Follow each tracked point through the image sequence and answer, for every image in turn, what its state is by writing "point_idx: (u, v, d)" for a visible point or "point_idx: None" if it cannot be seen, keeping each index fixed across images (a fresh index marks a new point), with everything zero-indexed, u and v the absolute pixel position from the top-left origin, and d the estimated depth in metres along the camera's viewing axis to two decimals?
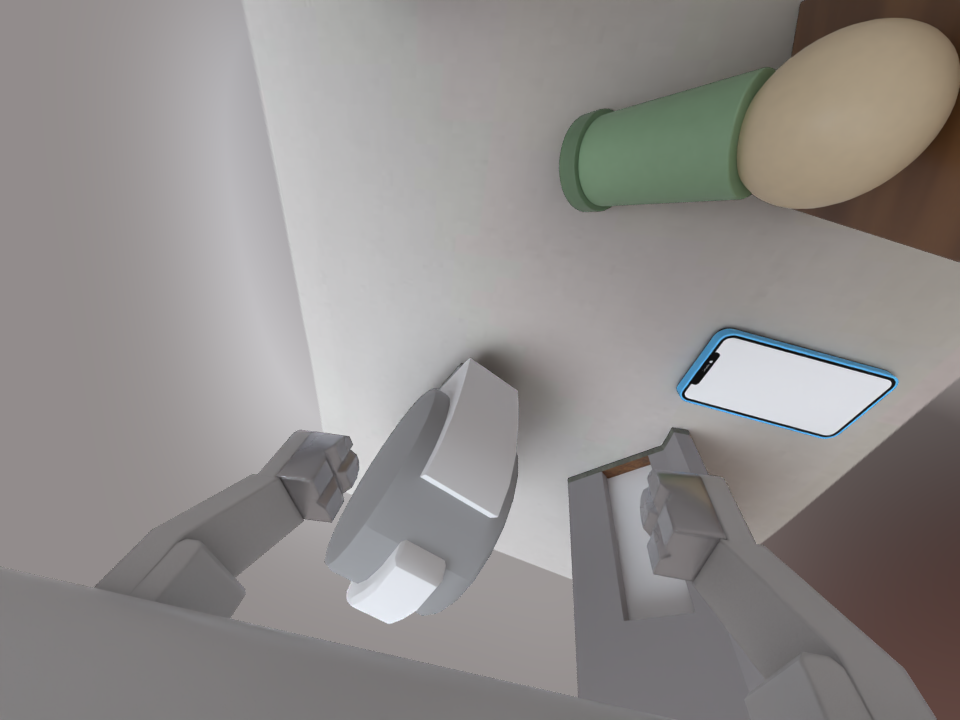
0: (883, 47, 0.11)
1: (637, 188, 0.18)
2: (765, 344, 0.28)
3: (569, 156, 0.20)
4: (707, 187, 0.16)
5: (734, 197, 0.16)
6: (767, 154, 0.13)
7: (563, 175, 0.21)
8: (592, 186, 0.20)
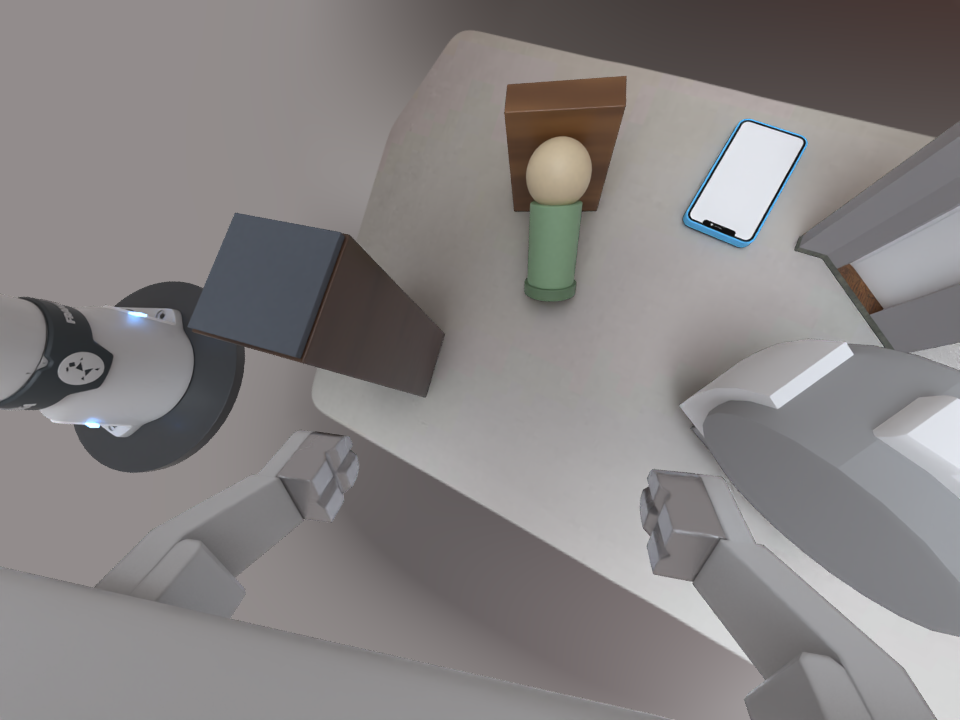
0: (535, 160, 0.30)
1: (565, 253, 0.34)
2: (699, 194, 0.39)
3: (540, 293, 0.36)
4: (571, 216, 0.32)
5: (579, 205, 0.32)
6: (561, 188, 0.30)
7: (549, 298, 0.36)
8: (559, 281, 0.35)
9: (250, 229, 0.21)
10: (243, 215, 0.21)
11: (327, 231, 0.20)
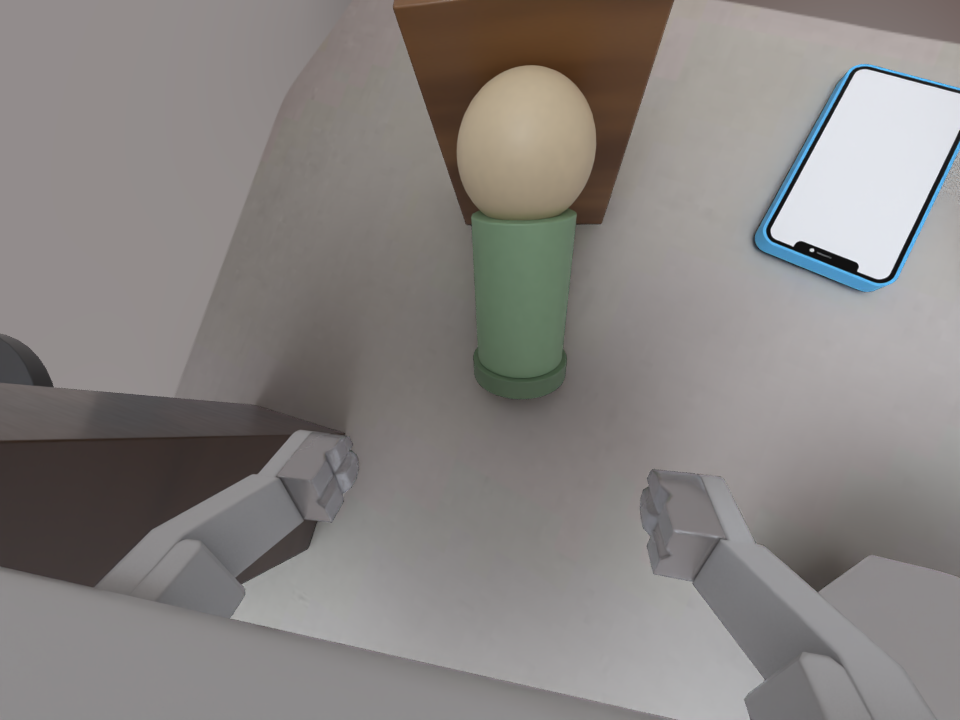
0: (468, 120, 0.13)
1: (543, 316, 0.17)
2: (785, 196, 0.22)
3: (498, 384, 0.19)
4: (553, 244, 0.15)
5: (570, 219, 0.15)
6: (526, 184, 0.13)
7: (515, 394, 0.19)
8: (532, 365, 0.18)
9: None
10: None
11: None
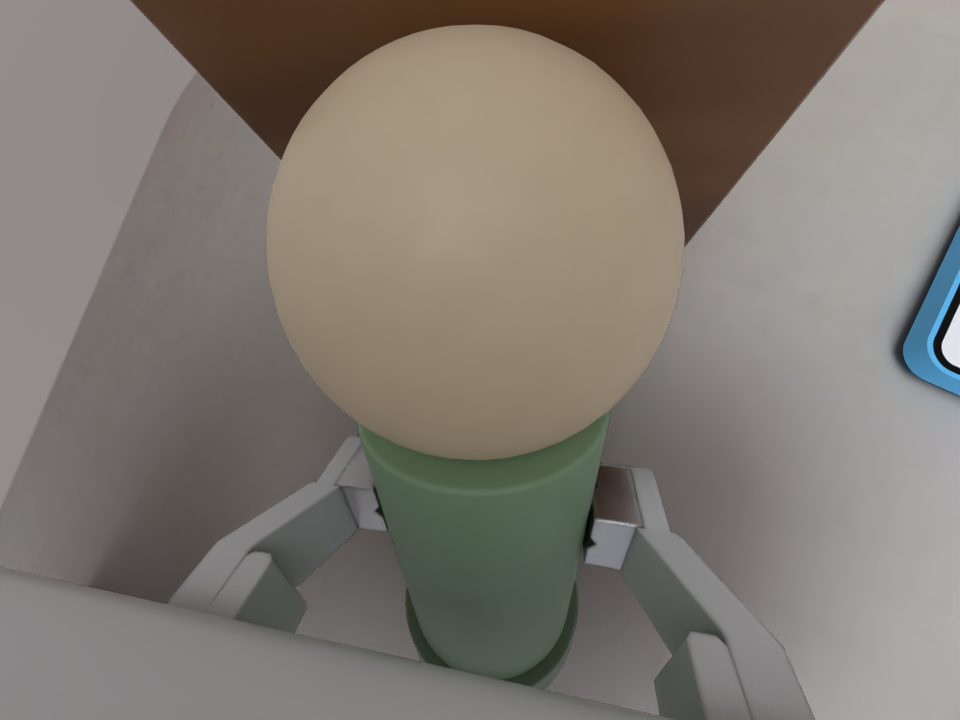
0: None
1: (528, 615, 0.07)
2: None
3: None
4: (552, 514, 0.06)
5: (598, 446, 0.06)
6: (458, 436, 0.04)
7: None
8: (509, 667, 0.09)
9: None
10: None
11: None
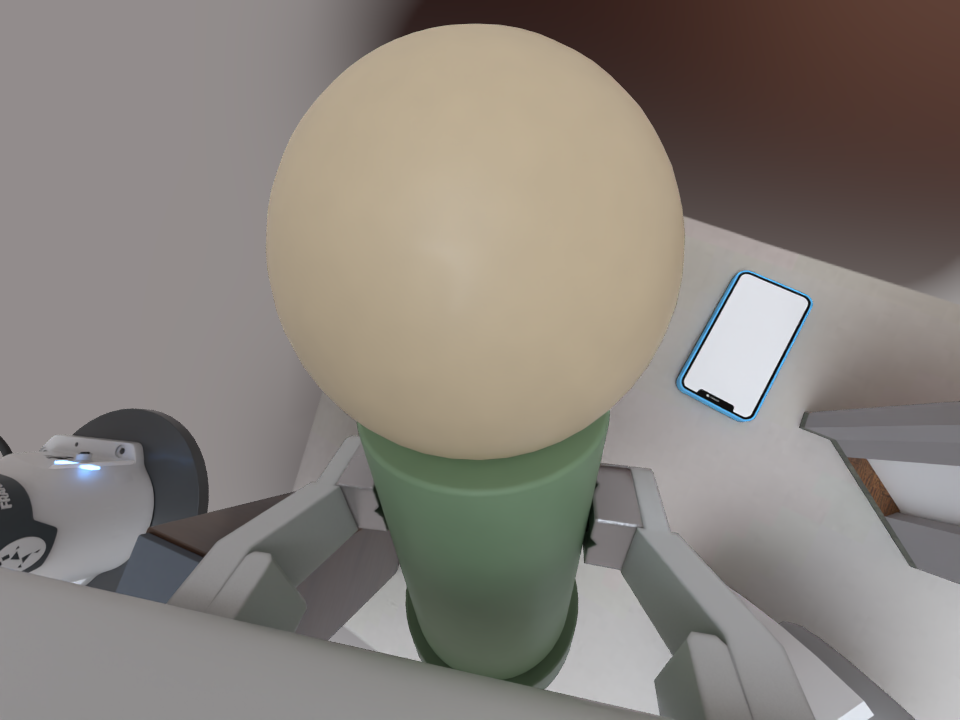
0: None
1: (529, 615, 0.07)
2: (694, 358, 0.35)
3: None
4: (552, 515, 0.06)
5: (598, 445, 0.06)
6: (459, 436, 0.04)
7: None
8: (510, 667, 0.09)
9: (153, 563, 0.18)
10: (147, 541, 0.18)
11: None
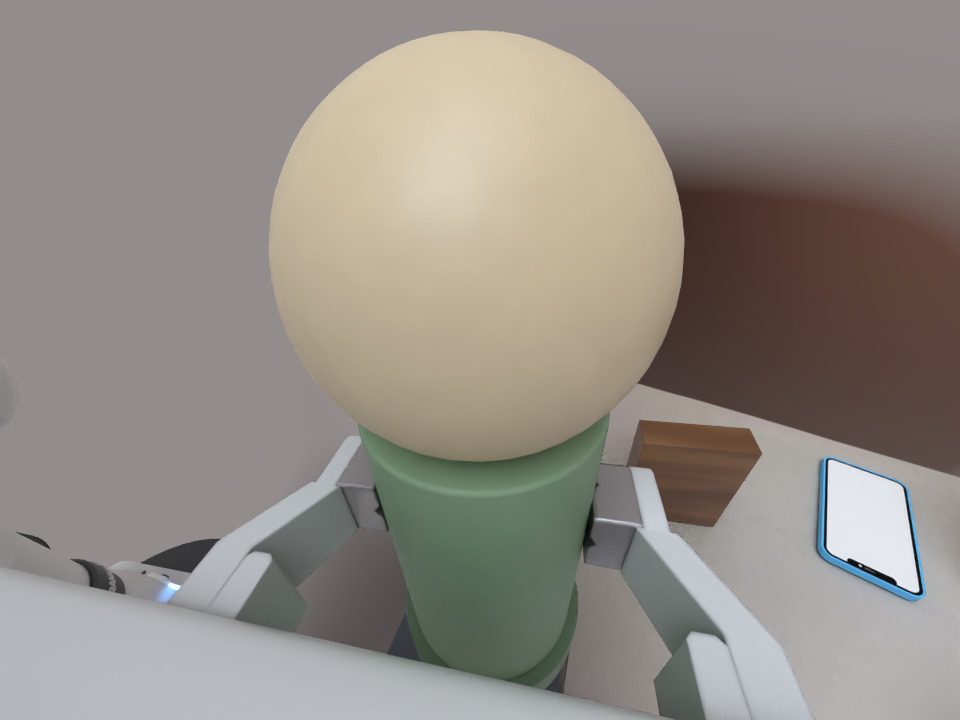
0: (271, 214, 0.04)
1: (528, 616, 0.07)
2: (825, 527, 0.38)
3: None
4: (553, 515, 0.06)
5: (598, 447, 0.06)
6: (460, 438, 0.04)
7: None
8: (510, 667, 0.09)
9: None
10: None
11: None
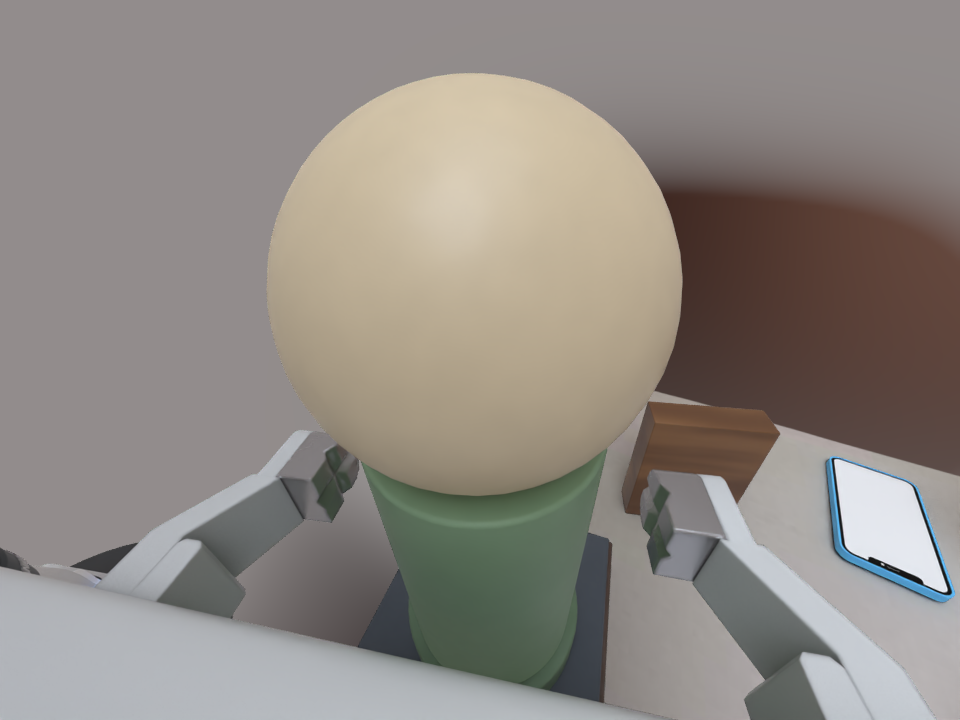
0: (268, 258, 0.04)
1: (528, 630, 0.08)
2: (840, 524, 0.35)
3: None
4: (552, 542, 0.06)
5: (596, 474, 0.06)
6: (459, 483, 0.04)
7: None
8: (510, 676, 0.09)
9: None
10: None
11: (587, 534, 0.14)
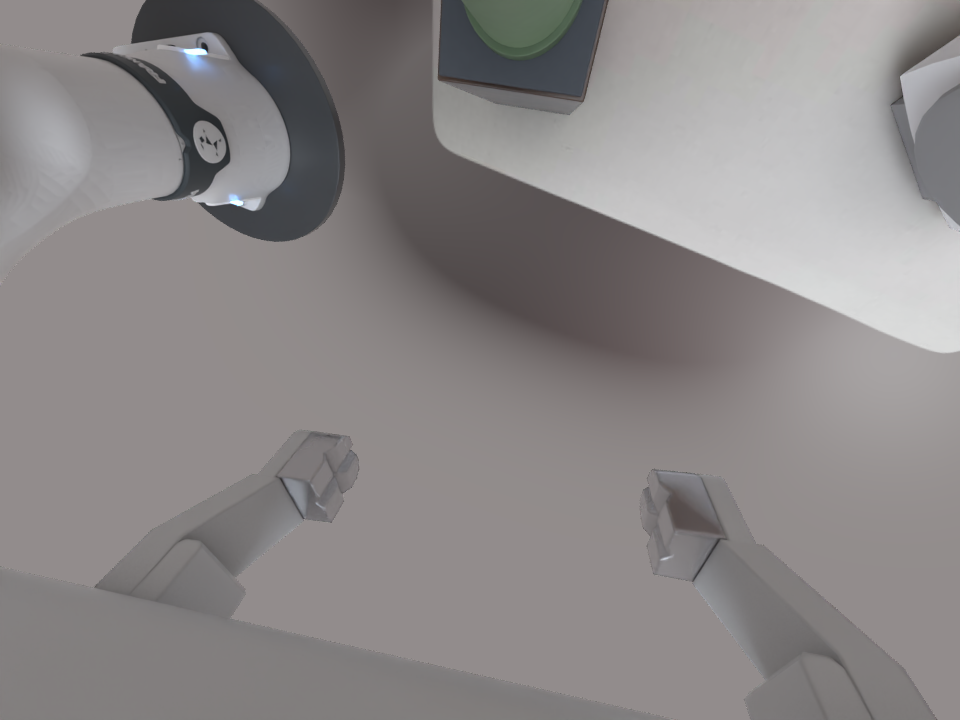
0: None
1: (547, 14, 0.13)
2: None
3: (503, 54, 0.17)
4: None
5: None
6: None
7: (523, 59, 0.17)
8: (540, 37, 0.15)
9: None
10: None
11: None
